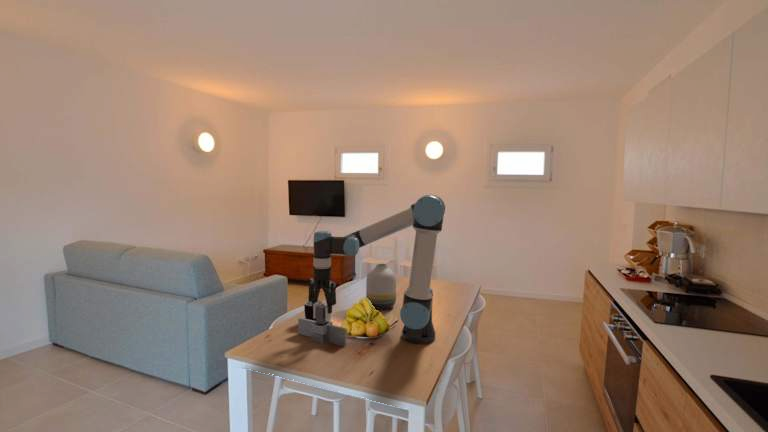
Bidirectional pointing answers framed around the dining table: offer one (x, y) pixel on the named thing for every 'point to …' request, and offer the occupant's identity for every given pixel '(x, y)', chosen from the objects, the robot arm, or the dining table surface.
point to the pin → (321, 315)
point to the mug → (310, 310)
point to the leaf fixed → (332, 335)
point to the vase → (381, 287)
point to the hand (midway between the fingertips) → (322, 318)
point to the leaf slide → (311, 327)
